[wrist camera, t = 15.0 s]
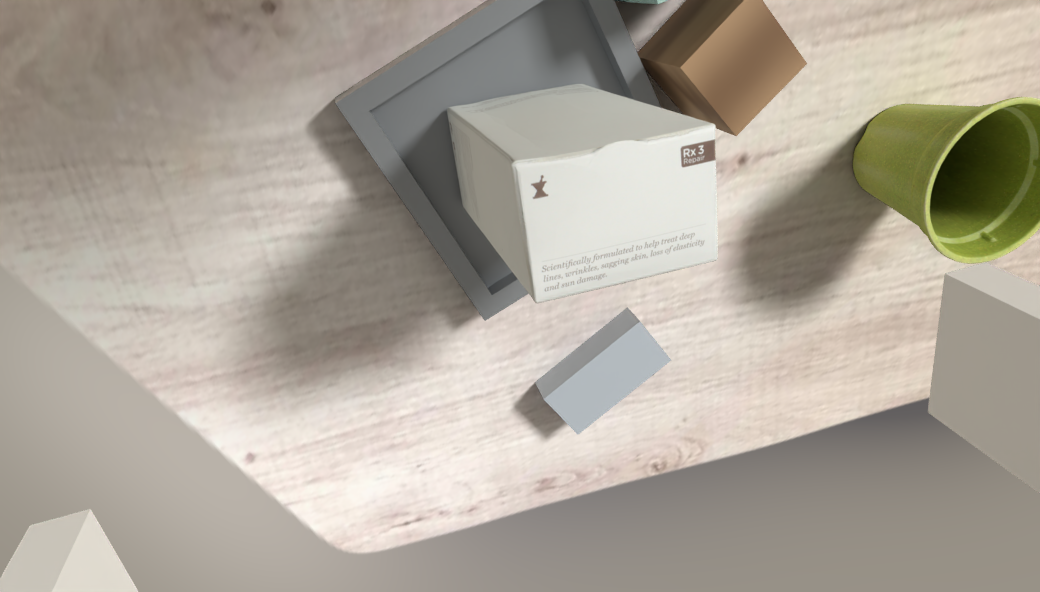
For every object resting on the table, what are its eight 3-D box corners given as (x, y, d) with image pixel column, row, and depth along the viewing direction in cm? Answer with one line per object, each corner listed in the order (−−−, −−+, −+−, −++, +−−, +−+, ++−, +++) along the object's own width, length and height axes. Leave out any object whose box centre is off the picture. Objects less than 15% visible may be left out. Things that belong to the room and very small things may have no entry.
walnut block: (634, 56, 40) (680, 67, 34) (697, -12, 39) (754, -11, 34) (685, 116, 42) (736, 136, 37) (746, 52, 41) (807, 63, 36)
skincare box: (461, 205, 40) (523, 317, 27) (443, 99, 37) (502, 164, 24) (599, 178, 41) (723, 272, 28) (592, 74, 39) (723, 122, 25)
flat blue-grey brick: (625, 305, 47) (639, 321, 44) (655, 343, 49) (671, 360, 46) (533, 379, 47) (543, 399, 45) (567, 414, 49) (577, 434, 47)
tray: (335, 97, 37) (335, 103, 35) (576, -57, 36) (588, -59, 35) (478, 306, 44) (484, 320, 42) (682, 179, 43) (696, 187, 42)
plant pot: (843, 242, 48) (939, 291, 41) (813, 120, 44) (914, 150, 36) (960, 178, 49) (1078, 216, 41) (942, 50, 44) (1070, 65, 36)
